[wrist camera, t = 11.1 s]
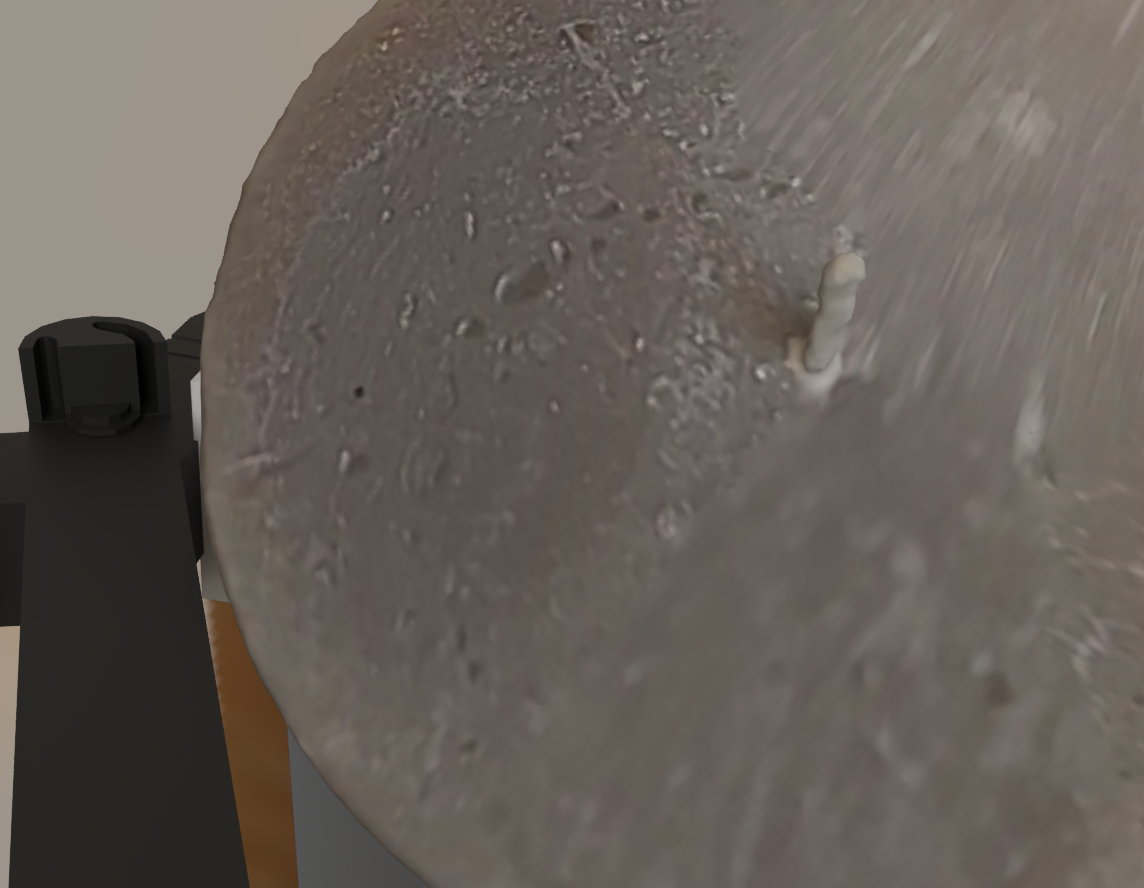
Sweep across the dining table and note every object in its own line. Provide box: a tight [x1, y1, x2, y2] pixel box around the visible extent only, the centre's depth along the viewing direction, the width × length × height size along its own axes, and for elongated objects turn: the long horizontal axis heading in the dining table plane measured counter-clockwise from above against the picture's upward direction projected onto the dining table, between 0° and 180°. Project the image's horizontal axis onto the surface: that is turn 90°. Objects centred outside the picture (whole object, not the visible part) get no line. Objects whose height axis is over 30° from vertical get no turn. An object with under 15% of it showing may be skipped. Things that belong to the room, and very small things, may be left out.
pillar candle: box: [200, 0, 1144, 888], centre depth 14 cm, size 10×10×15 cm
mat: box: [287, 726, 429, 888], centre depth 24 cm, size 16×16×1 cm
